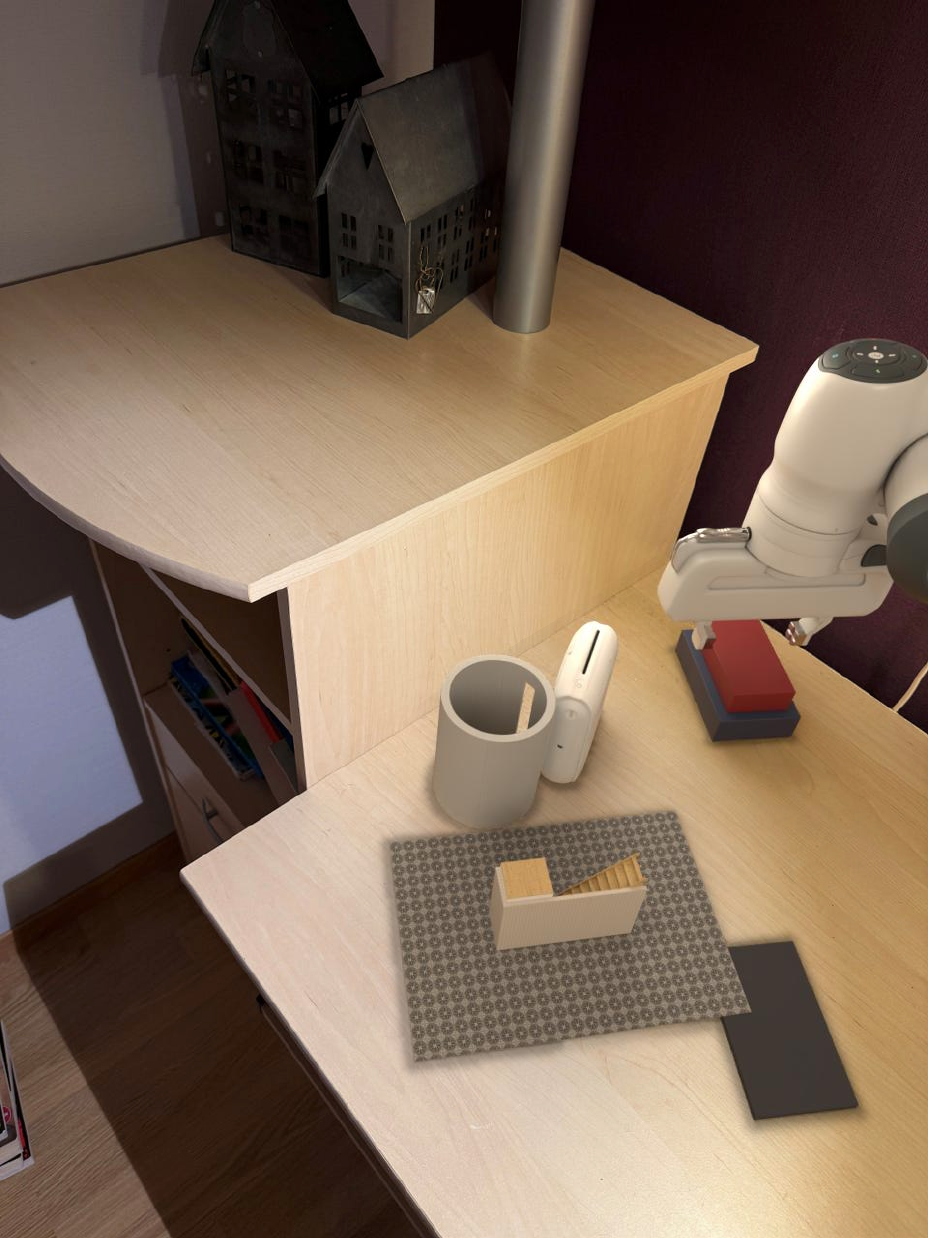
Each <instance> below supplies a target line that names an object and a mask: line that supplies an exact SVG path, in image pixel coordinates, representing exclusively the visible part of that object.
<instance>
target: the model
mask: <svg viewBox="0 0 928 1238" xmlns="http://www.w3.org/2000/svg"><path fill="white" fill-rule="evenodd" d="M640 855H641V853H640V852H636V853H634V854H632V855H630V856H628V857H626V858H624V859H622V860H620V861H618V862H616V863H614V864H613V865H611V866H609V867H607V868H605V869H603V870H601V871H599V872H597V873H595V874H593V875H592V876H590V877H588V878H586V879H584V880H582V881H580V882H578V883H576V884H574V885H572V886H570V887H569V888H567V889H565V890H563V891H561V892H559V893H557V894H555V895H554V889H553V885H552V881H551V877H550V873H549V869H548V865H547V861H546V858H545V857H536V858H527V859H519V860H510V861H502V862H501V863H500V864H499V866H495V867H494V874H493V881H492V888H491V895H490V902H489V909H488V913H489V918H490V923H491V928H492V934H493V939H494V944H495V949H496V950H497V951H501V950H505V949H508V950H509V949H513V948H521V947H529V946H537V945H545V944H553V943H561V942H566V941H567V942H569V941H574V940H582V939H590V938H598V937H606V936H614V935H622V934H630V933H631V932H632V931H633V928H634V926H635V923H636V920H637V918H638V915H639V913H640V910H641V907H642V905H643V902H644V900H645V897H646V894H647V892H648V887H647V885H646V884H645V885H643V883H646V882H648V881H649V878H648V877H645V878H643V874H642V871H641V868H640V865H639V862H638V859H637V857H639V856H640Z"/></svg>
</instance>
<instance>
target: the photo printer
mask: <svg viewBox="0 0 928 1238" xmlns="http://www.w3.org/2000/svg"><path fill="white" fill-rule="evenodd" d="M618 652H619V641H618V636H617V634H616V632H615V630H614V629H613V627H611V626H610V625H608V624H602V623H600V622H598V621H595V620H593V621H589V622H586V623H584V624H583V625H582V626H581V627H579V629H578V630H577V631H576V632H575V633H574V635H573V637H572V639H571V640H570V643H569V644H568V647H567V650H566V652H565V654H564V656H563V659H562V661H561V664H560V667H559V669H558V673H557V676H556V679H555V683H554V686H553V688H552V689H553V690H554V695H555V711H554V715H553V719H552V724H551V728H550V733H549V737H548V741H547V746H546V750H545V755H544V759H543V763H542V768H541V772H540V773H541V774H542V775H543V777H545V778H546V779H548V780H549V781H551V782H554V783H557V784H569V783H570V782H573V783H575V782H576V780H577V779H578V778H579V776H580V774H581V772H582V770H583V768H584V765H585V763H586V760H587V757H588V756H589V755H588V754H589V752H590V749H591V746H592V744H593V740H594V738H595V734H596V731H597V727H598V726H599V722H600V718H601V715H602V711H603V707H604V704H605V700H606V697H607V693H608V689H609V685H610V681H611V678H612V674H613V671H614V667H615V663H616V660H617V656H618Z"/></svg>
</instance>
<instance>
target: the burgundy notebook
mask: <svg viewBox="0 0 928 1238" xmlns="http://www.w3.org/2000/svg"><path fill="white" fill-rule="evenodd" d="M711 626H712V628H713V630H712V631H713V632H714V633H715V635H716V637H717V638H716V641H715V643H714V644H713V648H712V649H700V650H701V653H702V655H703V657H704V660H705V662H706V664H707V667H708V669H709V671H710V674H711V676H712V678H713V681H714V683H715V685H716V688H717V690H718V692H719V695H720V697H721V699H722V702H723V704H724V706H725V709H726V711H727V713H731V712H749V711H767V710H785V709H788V707H789V705H790V703H791V701H792V700H794V697H795V696H796V693H797V691H796V689H795V687H794V685H793V683H792V681H791V679H790V678H789V675H788V674H787V672H786V669H785V667H784V665H783V664H782V662H781V660H780V658H779V656H778V654H777V652H776V650H775V648H774V646H773V644H772V642H771V640H770V638H769V636H768V634H767V632H766V630H765V628H764V626H763V625H762V623H761V619H754V620H723V621H712V624H711Z"/></svg>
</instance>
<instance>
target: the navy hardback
mask: <svg viewBox="0 0 928 1238" xmlns="http://www.w3.org/2000/svg"><path fill="white" fill-rule="evenodd" d="M693 631H694V628H691V629H689V628H688V629H681V632H680V634H679V637H678V640H677V643H676V646H675V649H674V651H675V653H676V656H677V658H678V660H679V663H680V666H681V668H682V671H683V673H684V675H685V678H686V680H687V683H688V687H689V688H690V691H691V693H692V695H693V698H694V700H695V703H696V705H697V708H698V710H699V713H700V715H701V718H702V721H703V723H704V726H705V728H706V731H707V733H708V735H709V737H710V740H711V742H713V743H714V742H729V741H744V740H762V739H763V740H764V739H779V738H792V735H793V734H794V732H795V731H796V728H797V727H798V724H799V722H800V720H801V719H802V717H801V716H802V715H800V712H799V710H798V708H797V706H796V704H795V702H794V699H792V701H791V703H790V705H789V707H788V709H785V710H767V711H749V712H731V713H727V711H726V709H725V706H724V704H723V702H722V699H721V697H720V695H719V692H718V690H717V688H716V685H715V683H714V681H713V678H712V676H711V674H710V671H709V669H708V667H707V664H706V662H705V660H704V657H703V655H702V653H701V650H700V649H699V650H697V649H695V646H694V644H693V642H692V634H693Z"/></svg>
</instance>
